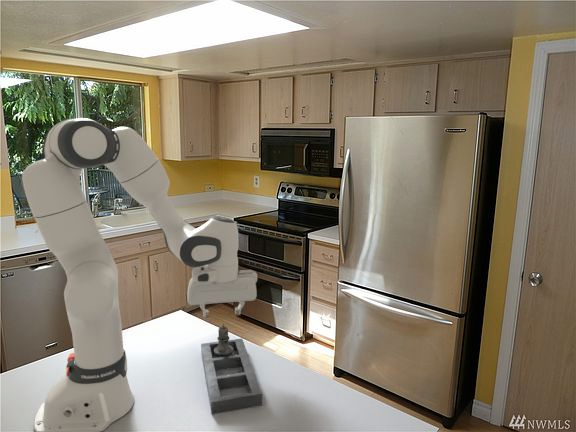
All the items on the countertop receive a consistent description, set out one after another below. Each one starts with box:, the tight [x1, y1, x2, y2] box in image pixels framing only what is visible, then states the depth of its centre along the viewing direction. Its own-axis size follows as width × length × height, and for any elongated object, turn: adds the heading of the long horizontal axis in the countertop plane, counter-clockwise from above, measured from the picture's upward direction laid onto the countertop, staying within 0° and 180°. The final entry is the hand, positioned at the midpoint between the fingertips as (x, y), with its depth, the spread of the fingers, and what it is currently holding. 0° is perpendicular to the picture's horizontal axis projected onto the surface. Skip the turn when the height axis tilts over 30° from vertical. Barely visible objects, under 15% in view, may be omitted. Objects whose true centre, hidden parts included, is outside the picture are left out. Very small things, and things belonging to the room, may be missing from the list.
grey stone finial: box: [214, 323, 234, 358], centre depth 127 cm, size 6×6×12 cm
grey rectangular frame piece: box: [200, 338, 263, 415], centre depth 120 cm, size 13×29×4 cm, turn 16°
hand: (222, 315), depth 125 cm, fingers open, 8 cm apart
